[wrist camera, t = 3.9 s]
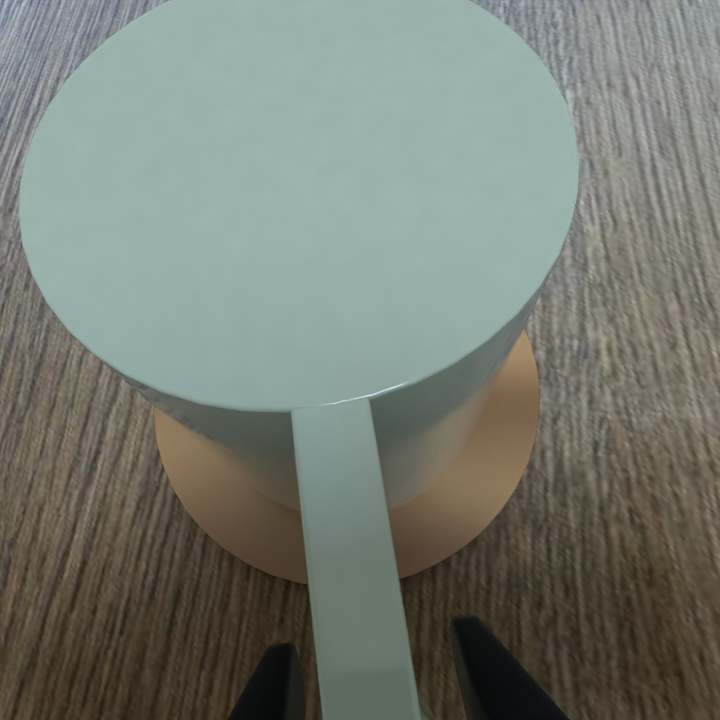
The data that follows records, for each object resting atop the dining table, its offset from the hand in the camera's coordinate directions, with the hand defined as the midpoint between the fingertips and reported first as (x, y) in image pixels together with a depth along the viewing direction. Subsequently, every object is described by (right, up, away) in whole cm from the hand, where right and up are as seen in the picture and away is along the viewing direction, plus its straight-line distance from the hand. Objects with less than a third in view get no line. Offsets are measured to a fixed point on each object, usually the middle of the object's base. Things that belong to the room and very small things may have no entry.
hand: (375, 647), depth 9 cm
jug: (-1, +2, +8) cm, 8 cm away
